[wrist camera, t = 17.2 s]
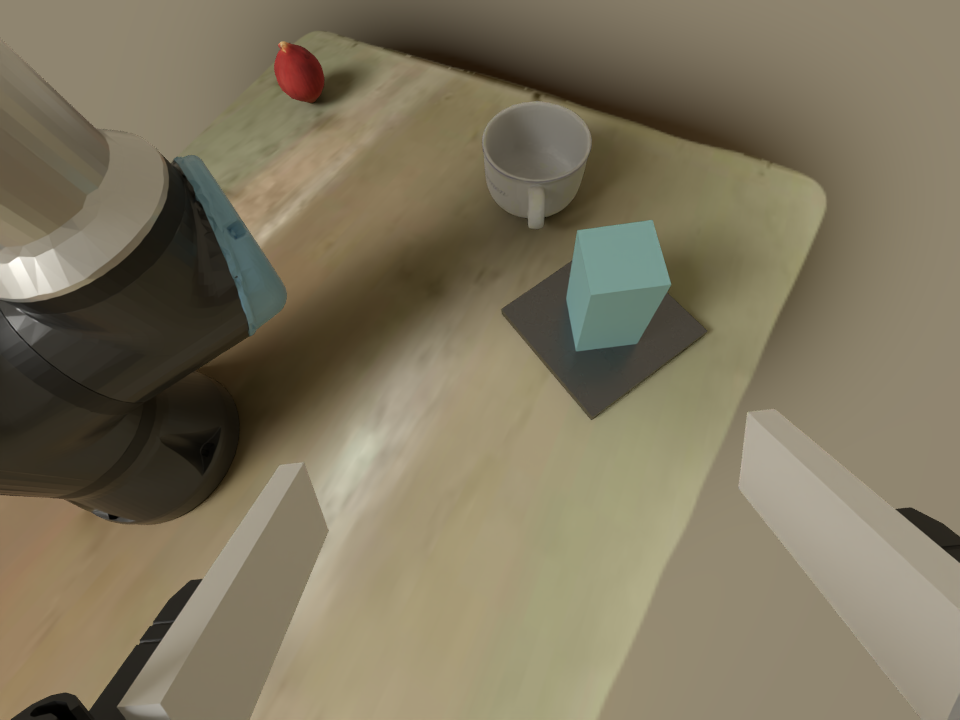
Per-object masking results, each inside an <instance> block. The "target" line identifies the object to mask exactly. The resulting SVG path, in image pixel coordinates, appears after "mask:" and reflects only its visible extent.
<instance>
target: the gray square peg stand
mask: <svg viewBox="0 0 960 720" xmlns="http://www.w3.org/2000/svg"><path fill="white" fill-rule="evenodd" d="M571 266H572V261H571V262H569V263H568V264H567V265H565V266H564V267H562V268H561V269H559V270H558V271H556V272H555V273H554V274H552V275H551V276H549V277H548V278H546V279H545V280H543V281H542V282H540V283H539V284H538V285H536V286H535V287H533V288H532V289H530V290H529V291H527V292H526V293H524V294H523V295H522V296H520V297H519V298H517V299H516V300H514V301H513V302H511V303H510V304H508V305H507V306H506V307H504V308H503V309H501V311H502V315H503V316H504V317H505V318H506V319H507V321H508V322H509V323H510V324H511V325H512V327H513V328H514V329H515V330H516V331H517V332H518V334H519V335H520V336H521V337H522V338H523V340H524V341H525V342H526V343H527V344H528V346H529V347H530V348H531V349H532V350H533V351H534V353H535V354H536V355H537V356H538V357H539V359H540V360H541V361H542V362H543V363H544V365H545V366H546V367H547V368H548V369H549V370H550V372H551V373H552V374H553V375H554V376H555V378H556V379H557V380H558V381H559V382H560V383H561V385H562V386H563V387H564V388H565V389H566V391H567V392H568V393H569V394H570V395H571V397H572V398H573V399H574V400H575V401H576V402H577V404H578V405H579V406H580V407H581V408H582V410H583V411H584V412H585V413H586V414H587V416H588V417H589V418H590V419H591V420H592V419H593V418H595V417H596V416H597V415H599V414H600V413H601V412H603V411H604V410H605V409H607V408H608V407H609V406H611V405H612V404H613V403H615V402H616V401H617V400H619V399H620V398H621V397H623V396H624V395H625V394H627V393H628V392H629V391H630V390H632V389H633V388H634V387H636V386H637V385H638V384H640V383H641V382H642V381H644V380H645V379H646V378H648V377H649V376H650V375H652V374H653V373H654V372H656V371H657V370H658V369H660V368H661V367H662V366H664V365H665V364H666V363H668V362H669V361H670V360H672V359H673V358H674V357H676V356H677V355H678V354H680V353H681V352H682V351H684V350H685V349H686V348H687V347H689V346H690V345H691V344H693V343H694V342H695V341H697V340H698V339H699V338H701V337H702V336H703V335H704V334H705V333H706V332H707V330H706V329H705V328H704V327H703V326H702V325H701V324H700V323H699V322H697V321H696V320H695V319H694V318H693V317H692V316H691V315H690V314H689V313H688V312H687V311H686V310H685V309H684V308H683V307H682V306H681V305H680V304H679V303H678V302H676V301H675V300H674V299H673V298H672V297H671V296H670V295H669V294H668V293H666V295H665V296H664V298H663V300H662V301H661V303H660V305H659V307H658V308H657V310H656V312H655V314H654V315H653V317H652V319H651V321H650V322H649V324H648V326H647V327H646V329H645V331H644V333H643V334H642V336H641V338H640V340H639V341H638V343H637V344H632V345H624V346H616V347H608V348H600V349H592V350H584V351H576V349H575V343H574V338H573V333H572V327H571V322H570V317H569V311H568V306H567V301H566V296H567V290H568V284H569V278H570V272H571Z"/></svg>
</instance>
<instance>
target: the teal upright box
mask: <svg viewBox="0 0 960 720" xmlns="http://www.w3.org/2000/svg"><path fill="white" fill-rule="evenodd" d="M670 286H671V282H670V278H669V275H668V272H667V268H666V265H665V261H664V258H663V254H662V251H661V247H660V244H659V241H658V237H657V234H656V230H655V227H654V223H653V220H648V221H641V222H634V223H626V224H619V225H612V226H605V227H598V228H591V229H583V230H577V235H576V241H575V248H574V254H573V260H572V266H571V272H570V278H569V284H568V290H567V296H566V301H567V306H568V311H569V317H570V322H571V327H572V333H573V338H574V343H575V349H576V351H584V350H592V349H600V348H608V347H616V346H624V345H632V344H637V343H638V341H639V340H640V338H641V336H642V334H643V333H644V331H645V329H646V327H647V326H648V324H649V322H650V321H651V319H652V317H653V315H654V314H655V312H656V310H657V308H658V307H659V305H660V303H661V301H662V300H663V298H664V296H665V295H666V293H667V291H668V289H669V288H670Z"/></svg>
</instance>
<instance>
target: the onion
mask: <svg viewBox="0 0 960 720" xmlns="http://www.w3.org/2000/svg"><path fill="white" fill-rule="evenodd" d="M278 46H279V48H280V51H279V52H278V54H277V56H276V60H275V64H274V70H275V75H276V78H277V81H278V83H279V86H280V87H281V89H282V90H283V91H284V92H285V93H286V94H287V95H289V96H290V97H291V98H293V99H296V100H299V101H304V102H308V103H313V102H315V101H316V99H317V98H318V97H319V96H320V95H321V93H322V90H323V87H324V74H323V70H322V67H321V65H320V63H319V61H318V60H317V59H316V57H315V56H314V55H313V54H311V53H310V52H309V51H308V50H306V49H305V48H303V47H301V46H298V45H293V44H290V43H287V42H285V41H283V42H280V43H279V45H278Z"/></svg>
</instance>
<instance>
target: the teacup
mask: <svg viewBox="0 0 960 720" xmlns="http://www.w3.org/2000/svg"><path fill="white" fill-rule="evenodd" d="M591 145H592V138H591V133H590V131H589V128H588V126H587V125H586V123H585V122H584V121H583V119H582V118H580V116H578V115H577V114H576V113H574V112H573V111H571V110H570V109H568V108H565V107H563V106H560V105H557V104H553V103H547V102H541V101H535V102H526V103H520V104H517V105H513V106H510V107H508V108H506V109H504V110H503V111H501V112H500V113H498V114H497V115H496V116H495V117H493V118H492V119H491V121H490V122H489V123H488V125H487V127H486V128H485V130H484V133H483V138H482V147H483V152H484V164H485V175H486V181H487V186H488V189H489V192H490V194H491V196H492V198H493V199H494V200H495V202H496V203H497V204H498V205H499V206H500V207H501V208H502V209H504V210H505V211H507V212H508V213H510V214H513V215H515V216H518V217H523V218H528V227H529V228H530V229H540V228H542V227H543V226H544V217H548V216H551V215H553V214H556V213H558V212H559V211H561V210H562V209H564V208H565V207H566V206H567V205H568V204H569V203H570V202H571V201H572V200H573V198H574V197H575V195H576V194H577V191H578V189H579V187H580V184H581V181H582V178H583V174H584V171H585V167H586V162H587V159H588V156H589V154H590V151H591Z"/></svg>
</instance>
